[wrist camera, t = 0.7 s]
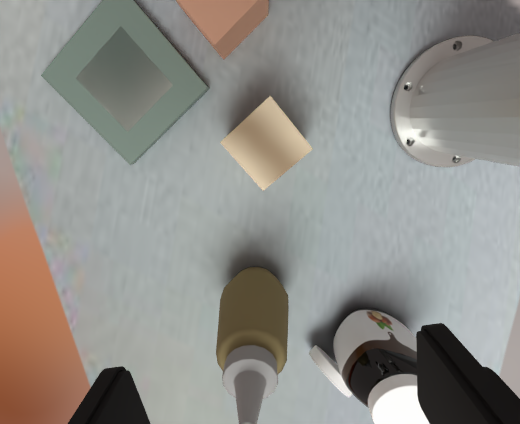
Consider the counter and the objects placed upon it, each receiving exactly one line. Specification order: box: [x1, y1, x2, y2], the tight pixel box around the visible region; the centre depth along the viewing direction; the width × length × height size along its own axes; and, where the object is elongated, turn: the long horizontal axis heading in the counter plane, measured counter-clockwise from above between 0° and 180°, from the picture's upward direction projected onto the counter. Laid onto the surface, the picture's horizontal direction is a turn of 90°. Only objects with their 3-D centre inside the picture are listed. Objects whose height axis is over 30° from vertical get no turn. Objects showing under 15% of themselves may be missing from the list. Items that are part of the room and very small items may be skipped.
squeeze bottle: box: [216, 267, 288, 424], centre depth 29 cm, size 8×8×18 cm
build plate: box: [41, 0, 209, 165], centre depth 30 cm, size 12×12×1 cm
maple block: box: [220, 96, 313, 191], centre depth 29 cm, size 6×6×6 cm
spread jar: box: [309, 308, 430, 424], centre depth 34 cm, size 12×11×12 cm
